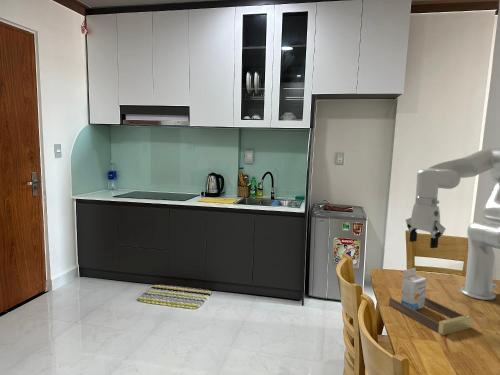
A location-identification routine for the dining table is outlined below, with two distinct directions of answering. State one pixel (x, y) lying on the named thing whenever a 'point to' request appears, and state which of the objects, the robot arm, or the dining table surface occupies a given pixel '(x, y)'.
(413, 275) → the ink box
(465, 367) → the dining table surface
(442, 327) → the slide guide
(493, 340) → the dining table surface
